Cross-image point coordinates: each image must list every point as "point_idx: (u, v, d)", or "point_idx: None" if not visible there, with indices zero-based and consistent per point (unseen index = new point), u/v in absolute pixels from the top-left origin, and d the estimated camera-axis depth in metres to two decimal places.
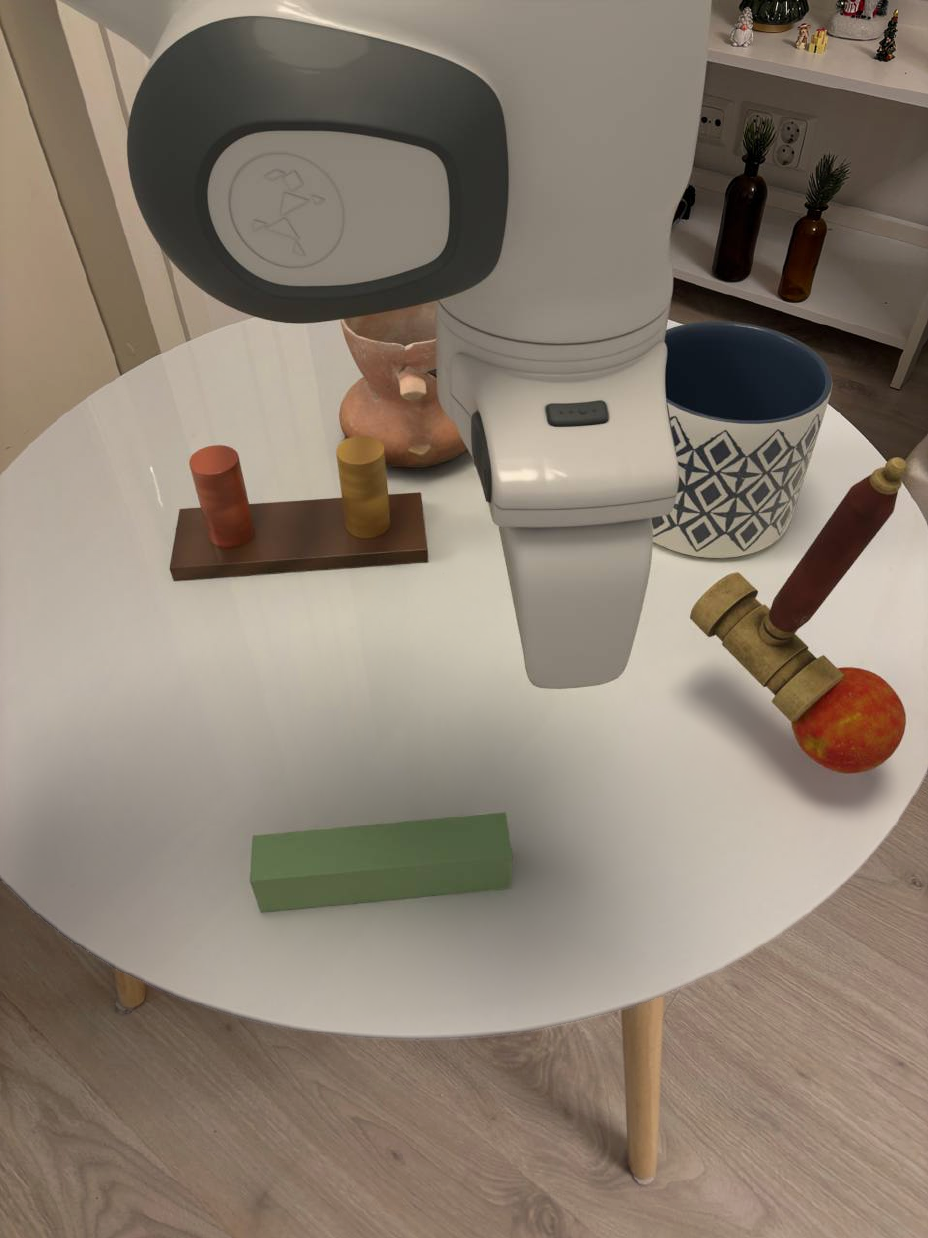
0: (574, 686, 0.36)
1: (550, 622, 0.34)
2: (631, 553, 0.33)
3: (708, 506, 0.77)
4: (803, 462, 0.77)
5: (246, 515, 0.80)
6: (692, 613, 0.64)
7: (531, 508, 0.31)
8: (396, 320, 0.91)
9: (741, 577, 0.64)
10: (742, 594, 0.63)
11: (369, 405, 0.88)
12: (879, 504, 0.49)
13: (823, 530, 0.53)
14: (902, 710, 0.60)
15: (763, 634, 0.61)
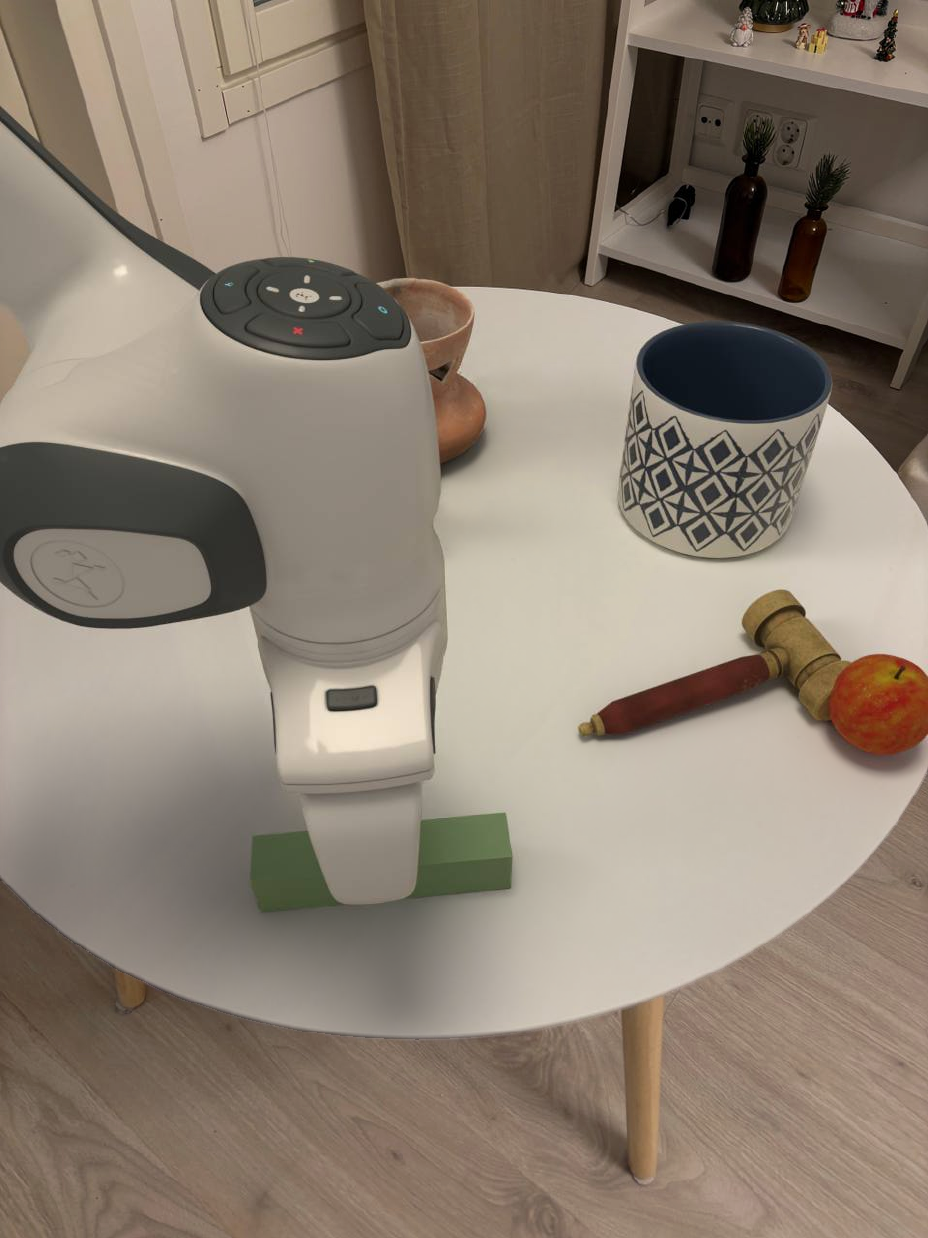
0: (372, 903, 0.42)
1: (339, 862, 0.40)
2: (400, 810, 0.39)
3: (708, 506, 0.77)
4: (803, 462, 0.77)
5: None
6: None
7: (309, 783, 0.38)
8: None
9: (752, 611, 0.73)
10: (753, 634, 0.73)
11: None
12: None
13: None
14: (875, 719, 0.63)
15: None
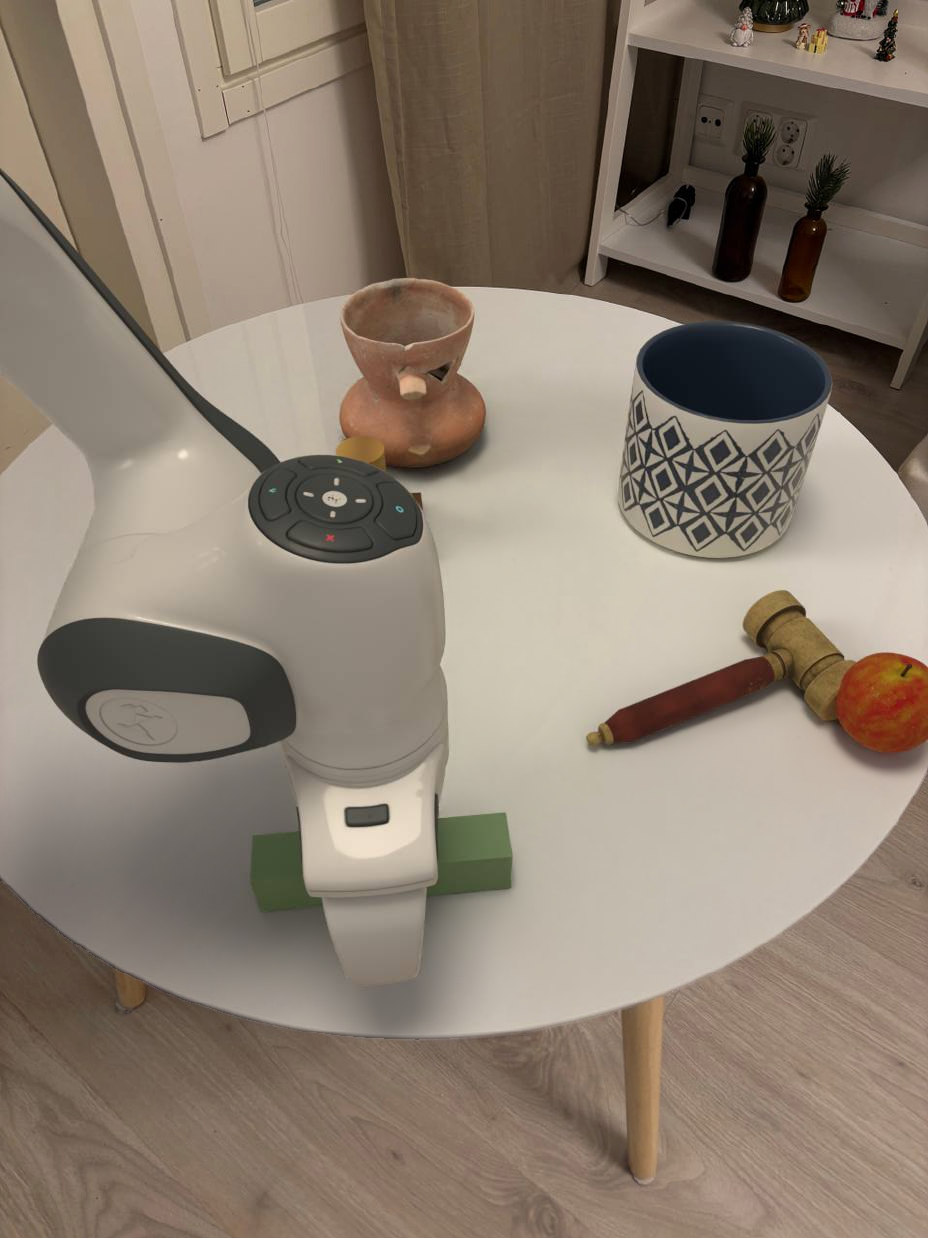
0: (381, 984, 0.49)
1: (354, 953, 0.46)
2: (408, 911, 0.45)
3: (708, 506, 0.77)
4: (803, 462, 0.77)
5: None
6: None
7: (330, 891, 0.44)
8: (396, 320, 0.91)
9: (753, 613, 0.73)
10: (755, 635, 0.73)
11: (369, 405, 0.88)
12: None
13: None
14: (884, 718, 0.63)
15: None
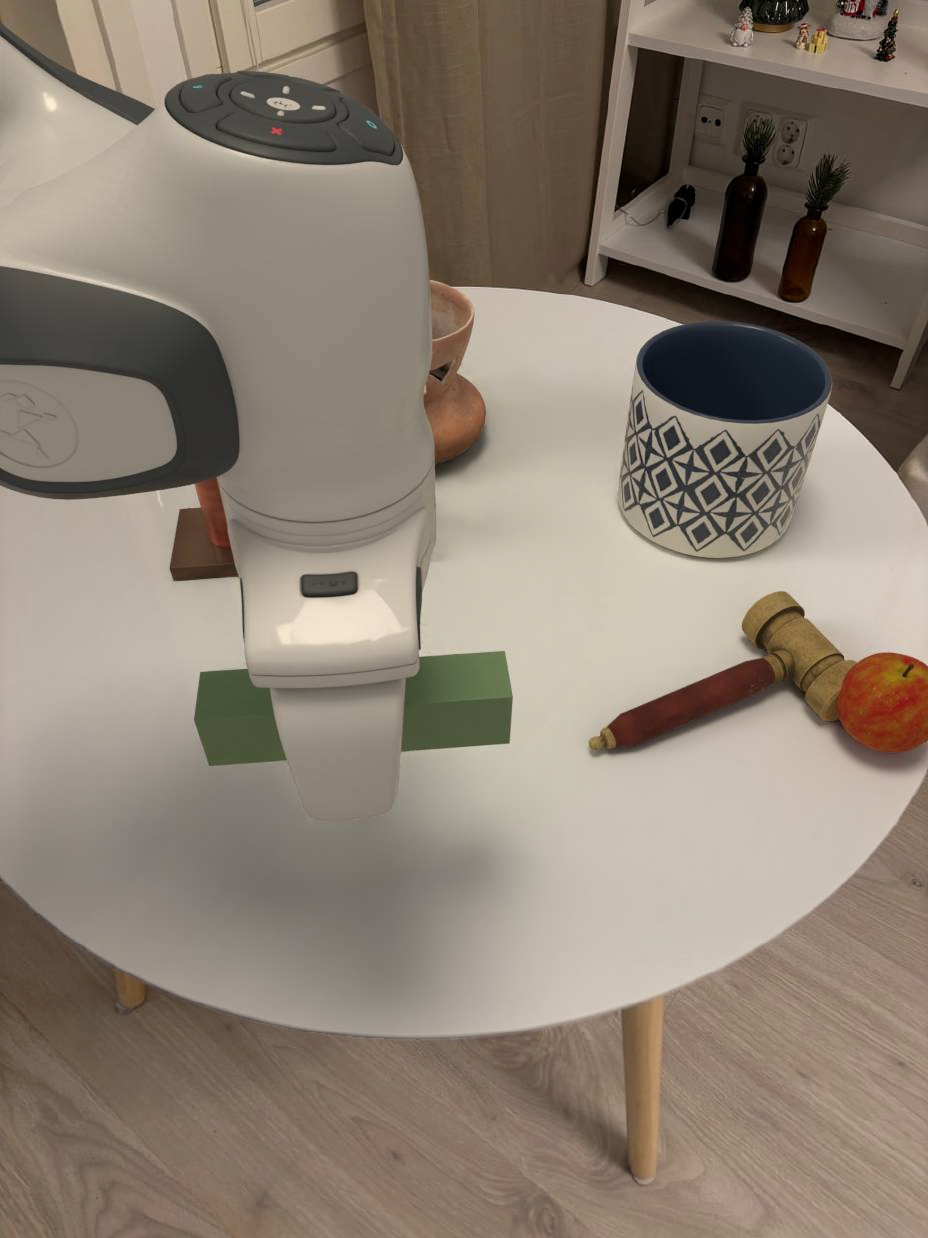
0: (348, 819, 0.39)
1: (312, 768, 0.36)
2: (381, 710, 0.36)
3: (708, 506, 0.77)
4: (803, 462, 0.77)
5: None
6: None
7: (280, 675, 0.34)
8: None
9: (752, 615, 0.73)
10: (754, 637, 0.73)
11: None
12: None
13: None
14: (887, 718, 0.63)
15: None
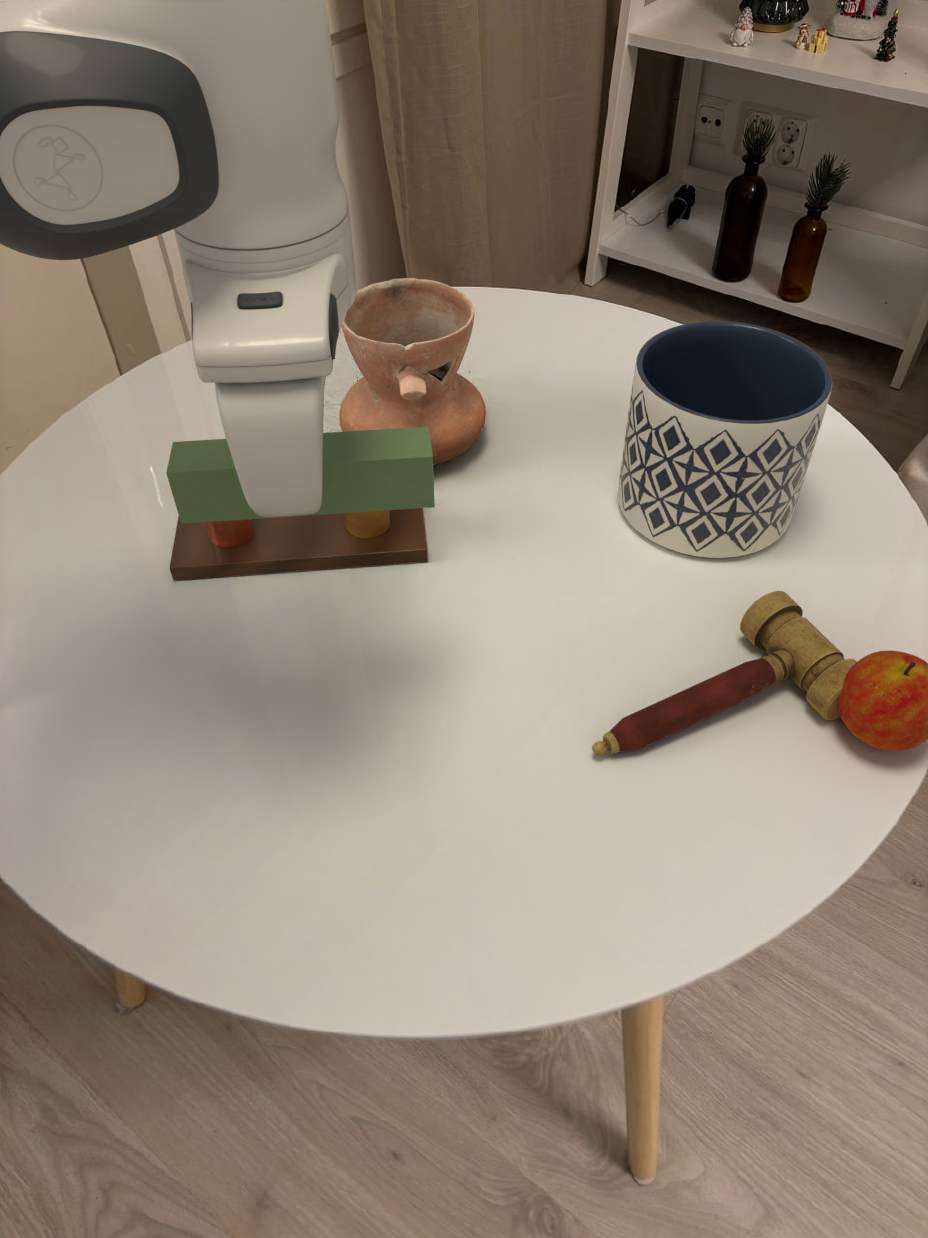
0: (282, 512, 0.48)
1: (250, 456, 0.46)
2: (302, 403, 0.45)
3: (708, 506, 0.77)
4: (803, 462, 0.77)
5: None
6: None
7: (220, 366, 0.43)
8: (396, 320, 0.91)
9: (750, 615, 0.73)
10: (753, 637, 0.73)
11: (369, 405, 0.88)
12: None
13: None
14: (889, 717, 0.63)
15: None
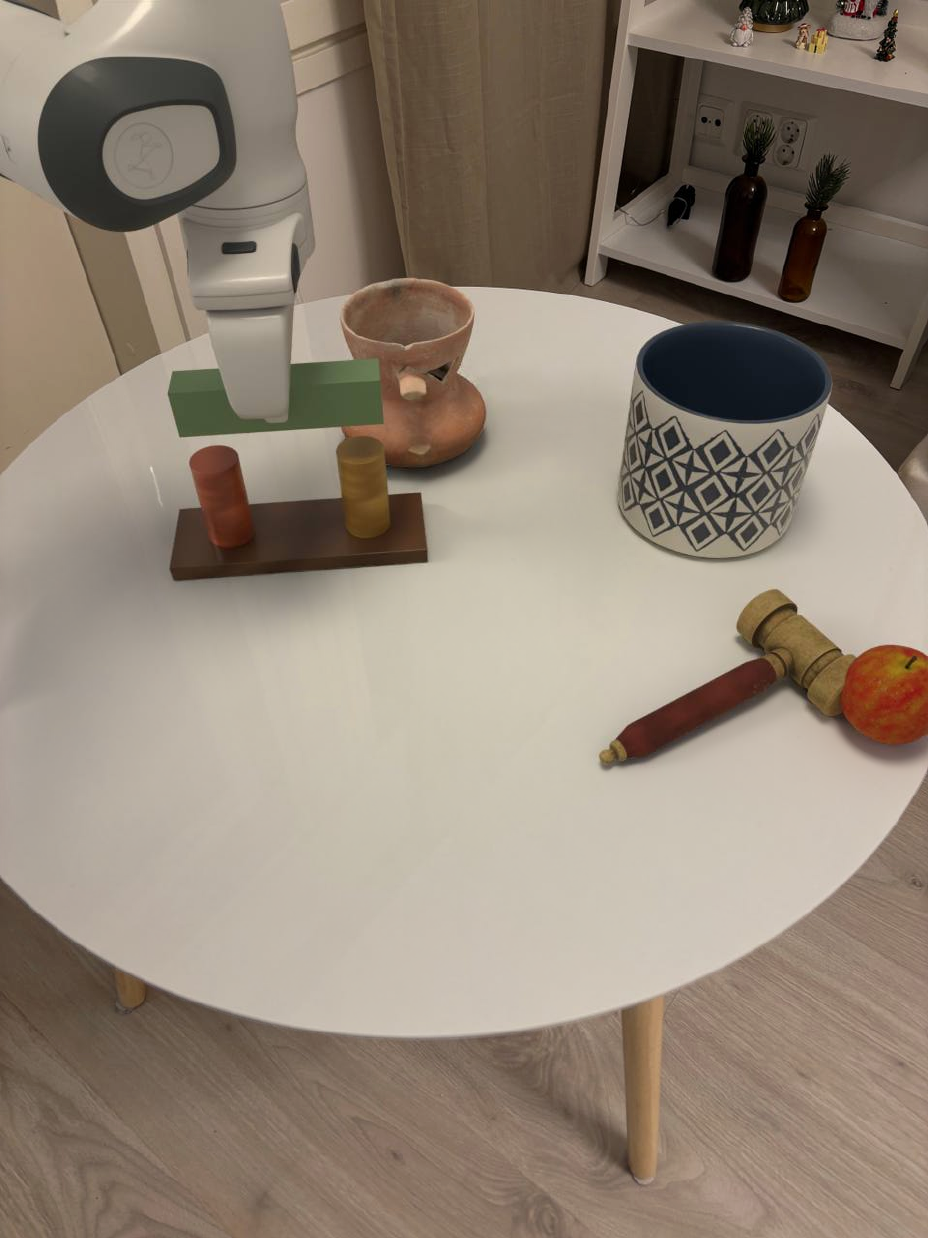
0: (258, 414, 0.63)
1: (232, 368, 0.60)
2: (272, 325, 0.59)
3: (708, 506, 0.77)
4: (803, 462, 0.77)
5: (246, 515, 0.80)
6: None
7: (209, 296, 0.58)
8: (396, 320, 0.91)
9: (747, 614, 0.73)
10: (750, 636, 0.73)
11: None
12: None
13: None
14: (894, 711, 0.64)
15: None
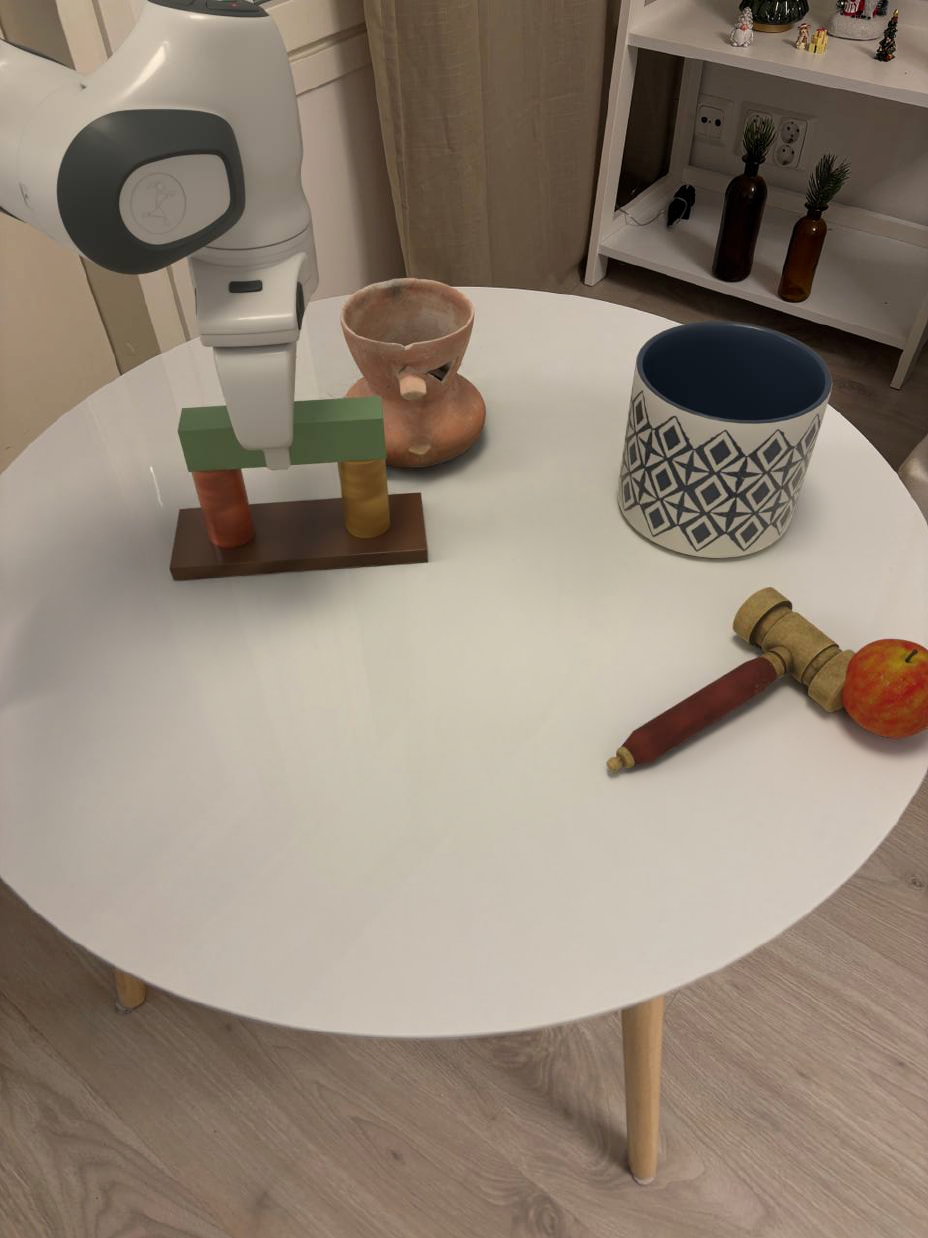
0: (263, 446, 0.65)
1: (238, 402, 0.62)
2: (277, 362, 0.61)
3: (708, 506, 0.77)
4: (803, 462, 0.77)
5: (246, 515, 0.80)
6: None
7: (216, 333, 0.60)
8: (396, 320, 0.91)
9: (743, 614, 0.73)
10: (747, 636, 0.73)
11: None
12: None
13: None
14: (897, 705, 0.64)
15: None
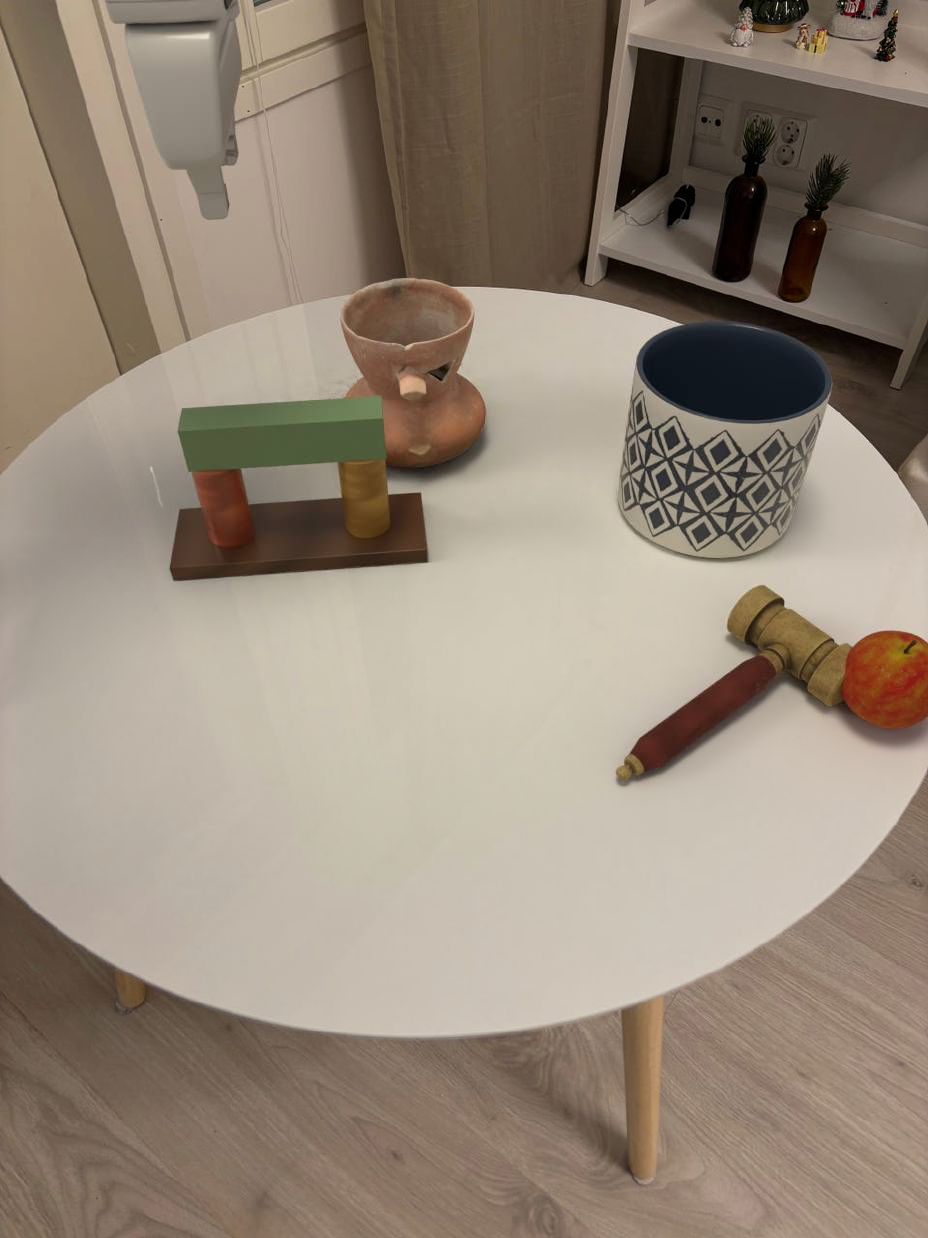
0: (188, 159, 0.56)
1: (156, 95, 0.53)
2: (199, 43, 0.52)
3: (708, 506, 0.77)
4: (803, 462, 0.77)
5: (246, 515, 0.80)
6: None
7: (126, 1, 0.51)
8: (396, 320, 0.91)
9: (738, 613, 0.73)
10: (743, 635, 0.73)
11: None
12: None
13: None
14: (900, 697, 0.64)
15: None
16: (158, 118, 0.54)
